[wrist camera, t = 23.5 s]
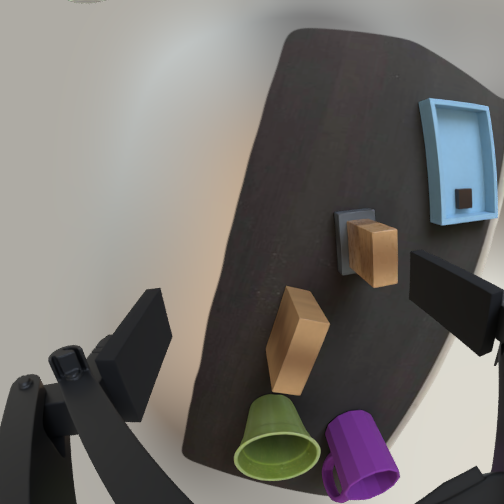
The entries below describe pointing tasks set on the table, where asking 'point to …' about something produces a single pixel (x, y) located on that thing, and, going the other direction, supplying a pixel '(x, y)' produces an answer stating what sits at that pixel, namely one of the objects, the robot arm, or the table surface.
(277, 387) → the square wooden block
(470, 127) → the pan
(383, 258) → the brush
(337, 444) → the mug
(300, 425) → the plant pot
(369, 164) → the table surface
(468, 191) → the dark grey flat block
